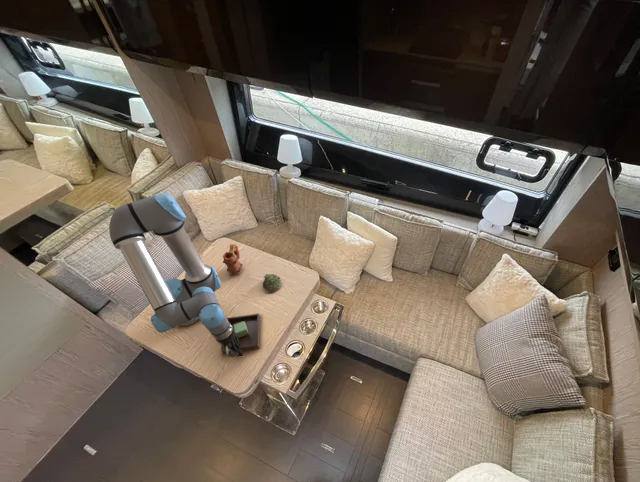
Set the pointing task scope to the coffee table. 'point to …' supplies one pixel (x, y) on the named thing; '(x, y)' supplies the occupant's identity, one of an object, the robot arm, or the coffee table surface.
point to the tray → (253, 328)
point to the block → (241, 329)
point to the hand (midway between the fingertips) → (240, 355)
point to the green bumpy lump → (271, 282)
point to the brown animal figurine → (232, 260)
